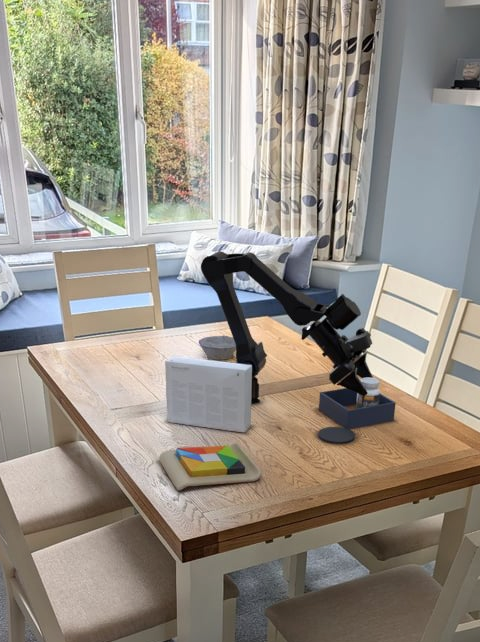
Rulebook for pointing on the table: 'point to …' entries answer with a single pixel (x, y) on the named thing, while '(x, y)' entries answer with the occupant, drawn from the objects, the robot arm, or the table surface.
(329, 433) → the coaster
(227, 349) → the bowl
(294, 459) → the table surface
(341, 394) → the open box
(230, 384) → the skincare box
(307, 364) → the table surface
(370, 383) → the pill bottle
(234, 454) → the wooden puzzle
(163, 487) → the table surface
